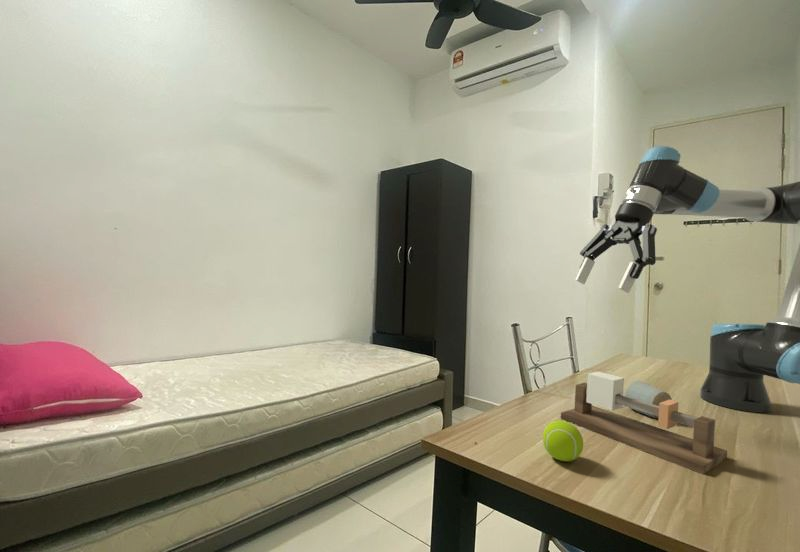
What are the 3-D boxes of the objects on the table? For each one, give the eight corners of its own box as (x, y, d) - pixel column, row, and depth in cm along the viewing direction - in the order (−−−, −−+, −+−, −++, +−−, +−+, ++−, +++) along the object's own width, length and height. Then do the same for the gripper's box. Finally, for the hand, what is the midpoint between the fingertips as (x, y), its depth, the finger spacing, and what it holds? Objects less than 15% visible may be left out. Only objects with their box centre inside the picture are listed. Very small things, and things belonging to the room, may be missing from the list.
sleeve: (596, 399, 91) (598, 371, 91) (622, 407, 86) (623, 378, 86) (586, 402, 88) (587, 373, 88) (612, 410, 83) (613, 380, 83)
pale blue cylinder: (653, 422, 90) (655, 390, 90) (622, 409, 98) (624, 380, 98) (683, 418, 94) (685, 388, 94) (651, 407, 102) (653, 379, 102)
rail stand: (588, 410, 96) (589, 379, 96) (726, 458, 73) (729, 417, 73) (560, 418, 90) (562, 385, 90) (703, 474, 66) (705, 429, 66)
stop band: (668, 422, 78) (669, 399, 78) (677, 424, 77) (678, 401, 77) (658, 426, 76) (659, 403, 76) (667, 429, 74) (668, 405, 74)
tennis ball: (545, 446, 75) (546, 412, 75) (583, 456, 71) (585, 420, 71) (538, 461, 69) (540, 423, 69) (580, 473, 65) (582, 433, 65)
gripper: (588, 204, 102) (554, 273, 102) (677, 196, 78) (634, 287, 78) (607, 216, 104) (574, 284, 104) (699, 213, 81) (657, 301, 80)
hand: (600, 286), depth 91 cm, fingers open, 13 cm apart
